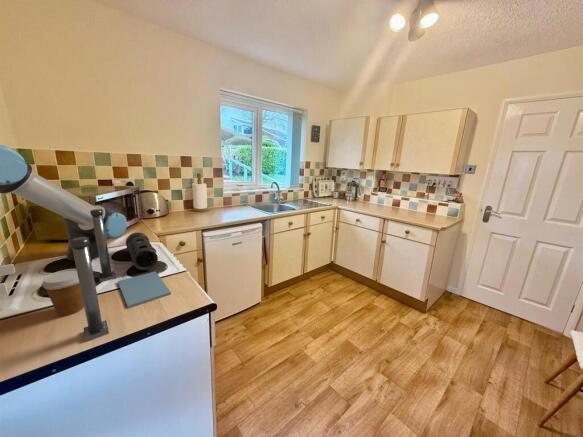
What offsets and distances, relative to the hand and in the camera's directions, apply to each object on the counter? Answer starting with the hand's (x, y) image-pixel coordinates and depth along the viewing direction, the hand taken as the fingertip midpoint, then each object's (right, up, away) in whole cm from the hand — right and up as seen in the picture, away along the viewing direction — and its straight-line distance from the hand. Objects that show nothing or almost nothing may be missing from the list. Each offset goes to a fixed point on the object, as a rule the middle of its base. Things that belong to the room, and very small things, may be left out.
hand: (10, 277), depth 64 cm
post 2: (+3, -8, +30) cm, 31 cm away
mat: (+21, -10, +24) cm, 33 cm away
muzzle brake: (+6, -4, +46) cm, 47 cm away
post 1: (+22, -16, +2) cm, 27 cm away
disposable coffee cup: (+6, -13, +11) cm, 18 cm away
